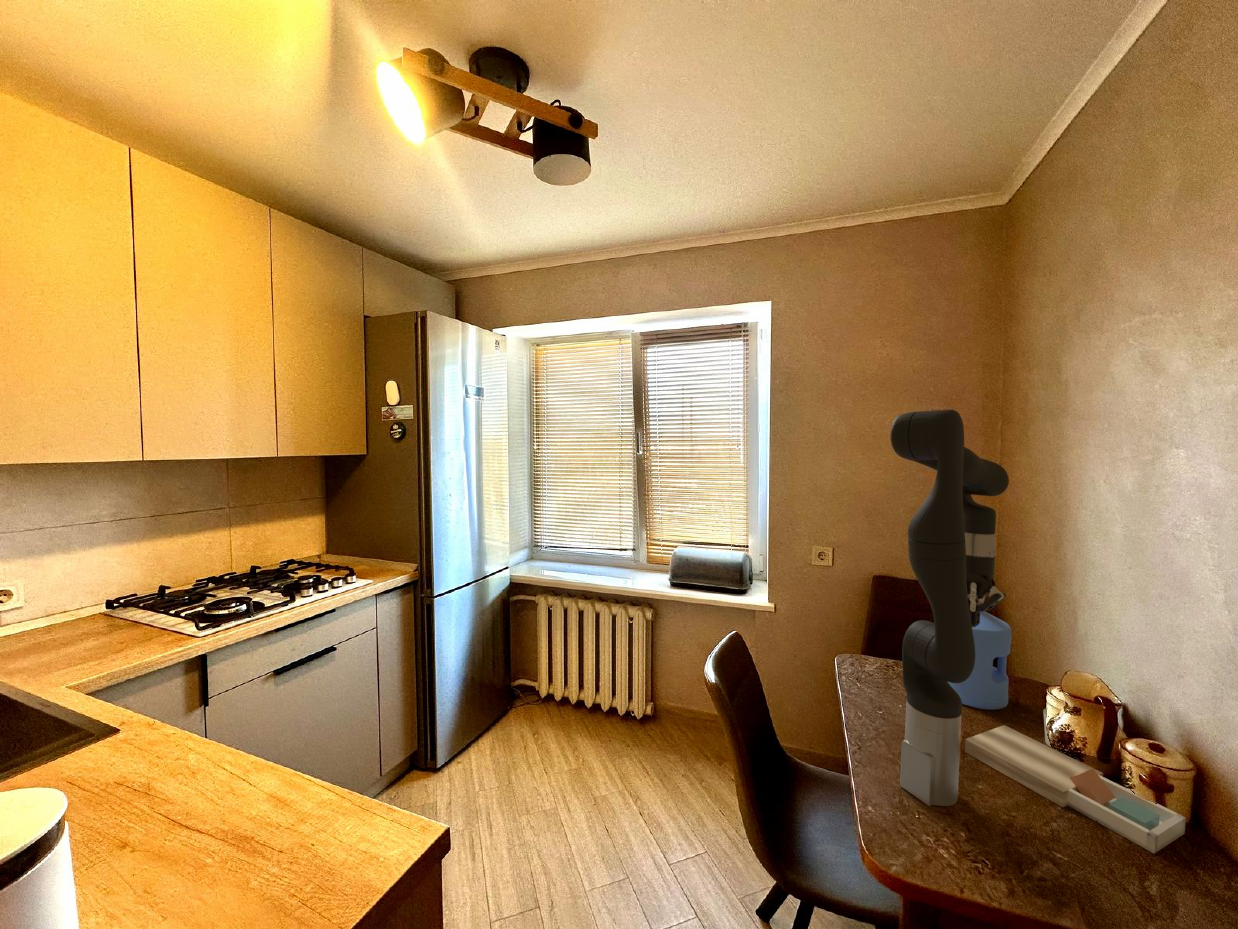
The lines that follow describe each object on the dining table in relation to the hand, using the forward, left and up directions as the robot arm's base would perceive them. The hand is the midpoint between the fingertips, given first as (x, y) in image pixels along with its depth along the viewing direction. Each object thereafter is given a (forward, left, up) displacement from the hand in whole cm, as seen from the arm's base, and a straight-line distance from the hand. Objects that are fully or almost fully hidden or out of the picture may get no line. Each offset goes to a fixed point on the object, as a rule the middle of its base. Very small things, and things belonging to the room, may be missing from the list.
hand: (971, 625), depth 114 cm
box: (+2, -27, -27) cm, 38 cm away
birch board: (+2, -12, -27) cm, 30 cm away
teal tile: (+2, -28, -24) cm, 37 cm away
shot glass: (+18, -10, -27) cm, 34 cm away
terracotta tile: (+2, -22, -25) cm, 33 cm away
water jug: (+22, +12, -27) cm, 37 cm away
